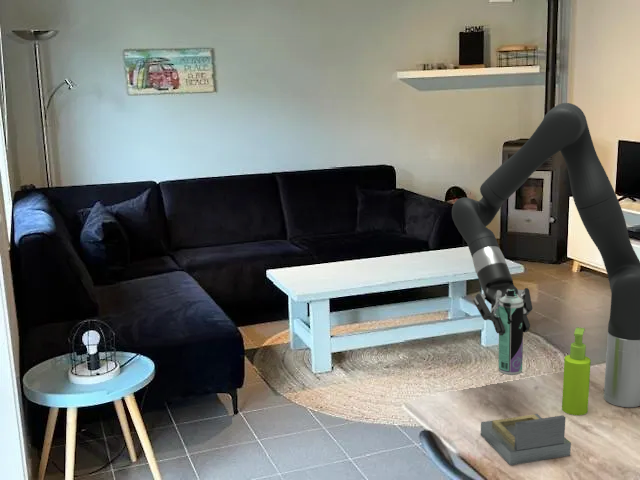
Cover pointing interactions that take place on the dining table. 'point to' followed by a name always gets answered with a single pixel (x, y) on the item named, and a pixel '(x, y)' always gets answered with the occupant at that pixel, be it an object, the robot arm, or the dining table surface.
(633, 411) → the dining table surface
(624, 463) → the dining table surface
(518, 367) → the spray can
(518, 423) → the grey and tan frame
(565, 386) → the soap dispenser
